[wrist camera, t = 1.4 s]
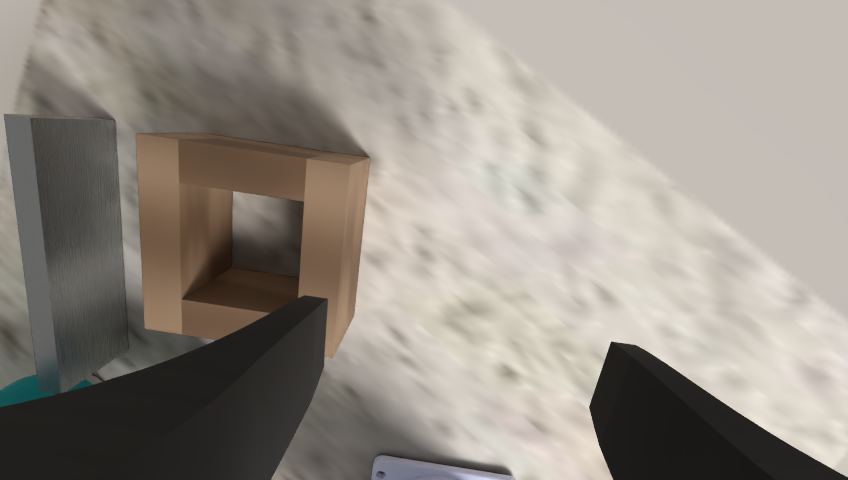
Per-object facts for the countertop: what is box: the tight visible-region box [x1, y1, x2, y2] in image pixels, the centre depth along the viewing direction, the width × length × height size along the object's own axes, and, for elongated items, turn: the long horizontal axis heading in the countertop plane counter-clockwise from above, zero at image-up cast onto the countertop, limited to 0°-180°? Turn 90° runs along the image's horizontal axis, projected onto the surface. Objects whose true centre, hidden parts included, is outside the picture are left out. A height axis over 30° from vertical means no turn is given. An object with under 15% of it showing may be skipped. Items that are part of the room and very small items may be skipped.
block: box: [136, 133, 370, 358], centre depth 18 cm, size 8×8×4 cm
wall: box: [4, 114, 128, 394], centre depth 19 cm, size 12×1×4 cm, turn 172°
